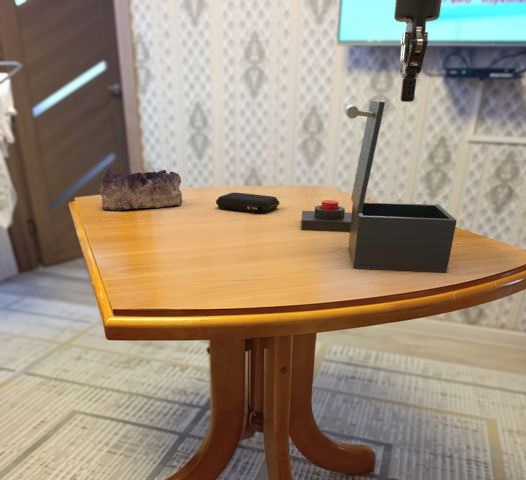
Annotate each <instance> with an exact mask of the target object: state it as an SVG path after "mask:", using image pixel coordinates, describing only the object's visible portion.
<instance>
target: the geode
mask: <svg viewBox="0 0 526 480" xmlns="http://www.w3.org/2000/svg"><path fill="white" fill-rule="evenodd" d="M181 184H182V177H181V176H180V174H179V173H177V172H176V171H175V172H174V171H170V172H169V173H168V172H167V170H166V169H162V170H159V171H146V172H144V173H142V172H140V171H139V172H135V173H130V174H127V175H123V174H120V173H114V172H113V171H112V170H111V169H107V170H106V172H105V175H104V176H103V178H102V179H101V184H100V189H99V193H100V196H101V198H102V199H101V209H102V211H111V212H112V211H113V212H117V211H119V212H121V211H127V210H137V209H152V208H153V209H154V208H157V209H159V208H165V207H173V206H176V205H182V203H183V194H182V193H183V192H182V191H181V190H180V186H181Z"/></svg>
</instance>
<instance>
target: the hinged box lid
mask: <svg viewBox="0 0 526 480" xmlns="http://www.w3.org/2000/svg"><path fill="white" fill-rule="evenodd" d="M385 105H386V102H385V101H380V100H370V101H369V106H368V110H361V109H359V107H357V106H355V105H352V104H349V105H347V106H346V107H345V110H344V114H345V116H346V117H347V118H349V119H352V120H353V119H356V118H357V117H366V121H365V126H364V132H363V136H362V140H361V141H362V142H361V146H360V150H359V151H360V152H359V157H358V162H357V167H356V172H355V176H354V182H353V185H352V186H353V187H352V191H351V196H350V199H351V202H352V205H353V204H354V207H355V209H356V212H357V213H359V214H362V210H363V205H364V202H365V200H366V194H367V191H368V187H369V181H370V176H371V171H372V167H373V162H374V157H375V153H376V148H377V143H378V140H379V139H378V138H379V134H380V129H381V124H382V120H383V116H384V115H383V114H384V111H385Z"/></svg>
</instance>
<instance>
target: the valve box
mask: <svg viewBox="0 0 526 480" xmlns="http://www.w3.org/2000/svg"><path fill="white" fill-rule="evenodd" d="M351 213H352V216H351V226H350V232H349V238H348V248H347V249H348V252H349V256H350V259H351V264H352V267H353V269H354V270H356V269H357V270H358V269H359V270H379V271H399V272H400V271H401V272H422V273H442V274H443V273H445V274H446V273H448V268H449V264H450V263H449V262H450V258H451V252H452V247H453V242H454V237H455V232H456V227H457V219H456V218H455V217H454V216H453V215H452V214H450V213H449V212H448V211H447V210H445V208H443V206H441V205H440V204H426V203H420V204H419V203H398V202H373V201H371V202H370V201H364V205H363V210H362V214H359V213H357V212H356V209H355V207H354V204H353V203H352V208H351Z"/></svg>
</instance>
